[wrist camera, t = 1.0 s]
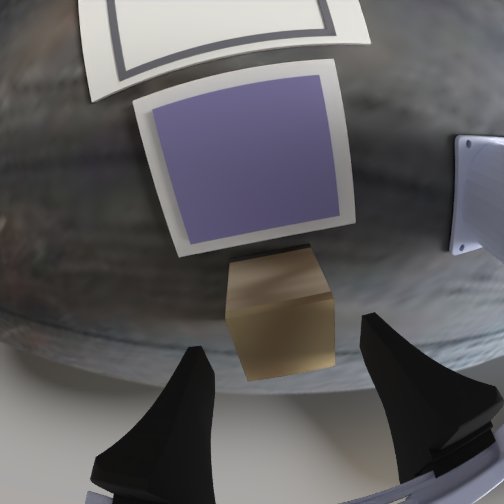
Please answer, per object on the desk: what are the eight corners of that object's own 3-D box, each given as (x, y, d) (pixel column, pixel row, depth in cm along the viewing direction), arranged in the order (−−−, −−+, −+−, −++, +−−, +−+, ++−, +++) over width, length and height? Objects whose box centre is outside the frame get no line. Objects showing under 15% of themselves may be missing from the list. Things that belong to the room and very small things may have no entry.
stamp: (309, 243, 15) (333, 298, 11) (315, 305, 17) (334, 365, 13) (230, 258, 15) (224, 318, 11) (246, 318, 17) (248, 381, 13)
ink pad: (326, 63, 10) (337, 56, 9) (347, 214, 14) (360, 227, 13) (141, 101, 11) (127, 100, 10) (183, 246, 15) (176, 263, 13)
